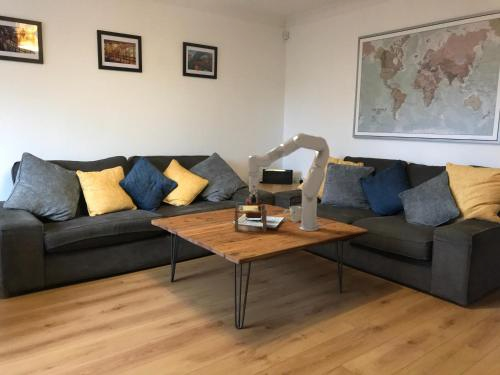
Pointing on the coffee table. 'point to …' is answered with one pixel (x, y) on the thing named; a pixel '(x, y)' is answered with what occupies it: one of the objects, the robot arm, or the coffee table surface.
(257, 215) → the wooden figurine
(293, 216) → the mug
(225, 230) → the coffee table surface
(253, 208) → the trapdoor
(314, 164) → the robot arm
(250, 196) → the stone
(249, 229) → the frame
